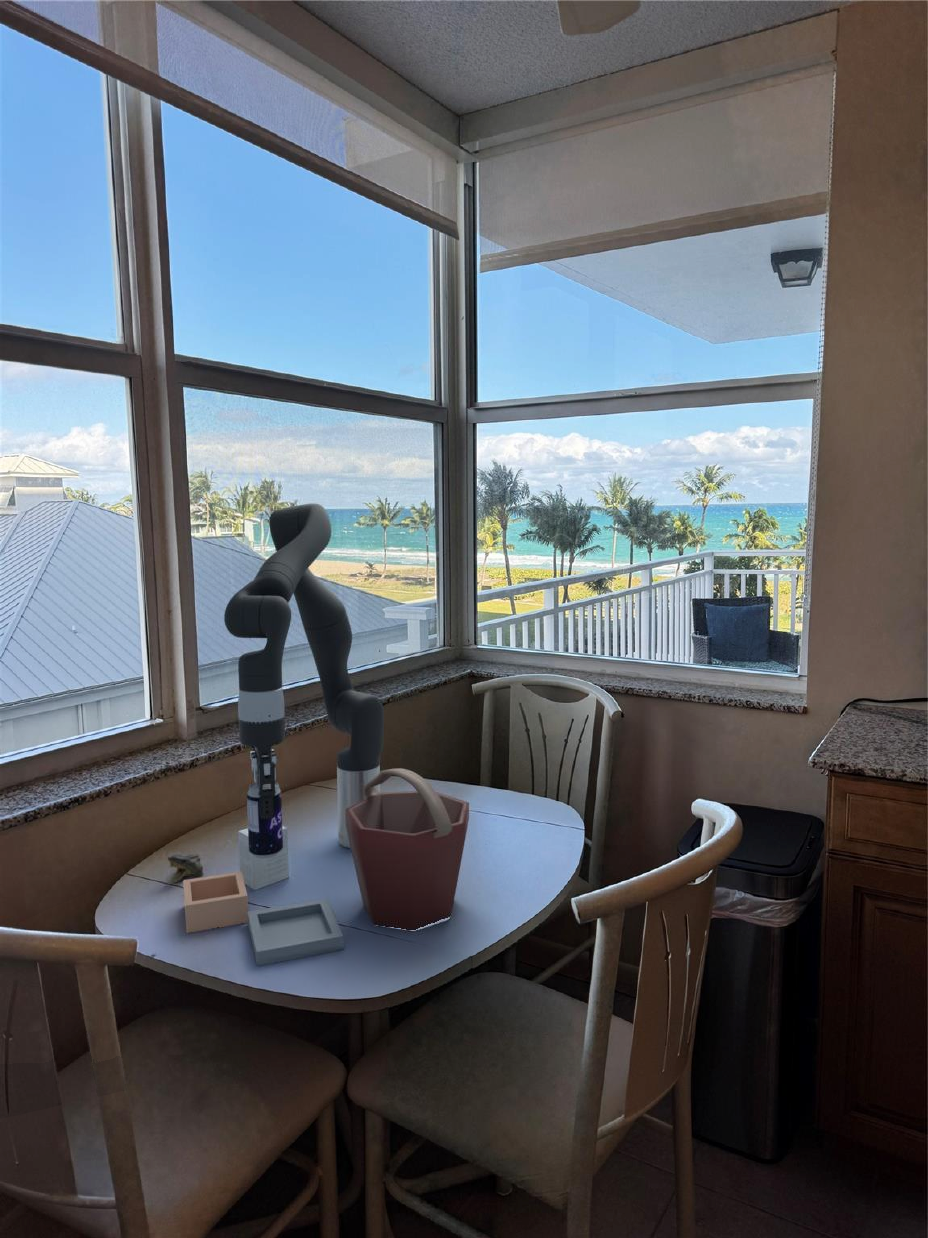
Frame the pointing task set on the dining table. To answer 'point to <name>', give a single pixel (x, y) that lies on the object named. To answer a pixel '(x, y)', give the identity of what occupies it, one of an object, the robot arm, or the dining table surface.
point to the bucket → (407, 851)
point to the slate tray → (294, 931)
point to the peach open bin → (215, 901)
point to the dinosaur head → (185, 866)
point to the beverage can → (264, 824)
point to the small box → (262, 863)
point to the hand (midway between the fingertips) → (265, 810)
